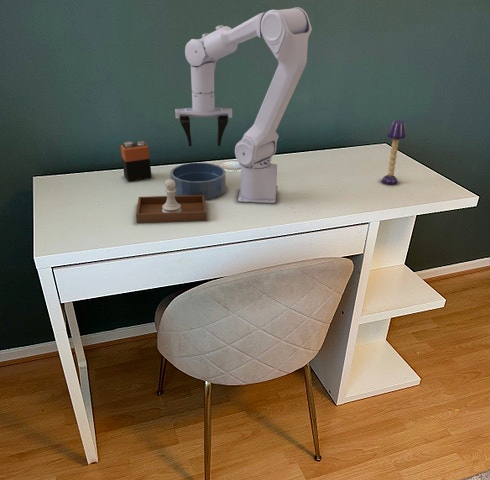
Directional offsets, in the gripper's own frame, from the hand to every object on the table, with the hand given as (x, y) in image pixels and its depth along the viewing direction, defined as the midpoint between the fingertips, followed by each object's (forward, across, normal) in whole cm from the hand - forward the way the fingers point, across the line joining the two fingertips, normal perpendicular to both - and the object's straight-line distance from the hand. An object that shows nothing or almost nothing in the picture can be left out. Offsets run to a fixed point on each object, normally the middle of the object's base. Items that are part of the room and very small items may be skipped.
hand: (204, 145), depth 134 cm
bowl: (+10, +2, +7) cm, 12 cm away
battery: (+10, +19, -3) cm, 22 cm away
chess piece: (+10, +9, +20) cm, 24 cm away
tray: (+10, +9, +20) cm, 24 cm away
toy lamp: (+10, -51, +5) cm, 52 cm away
